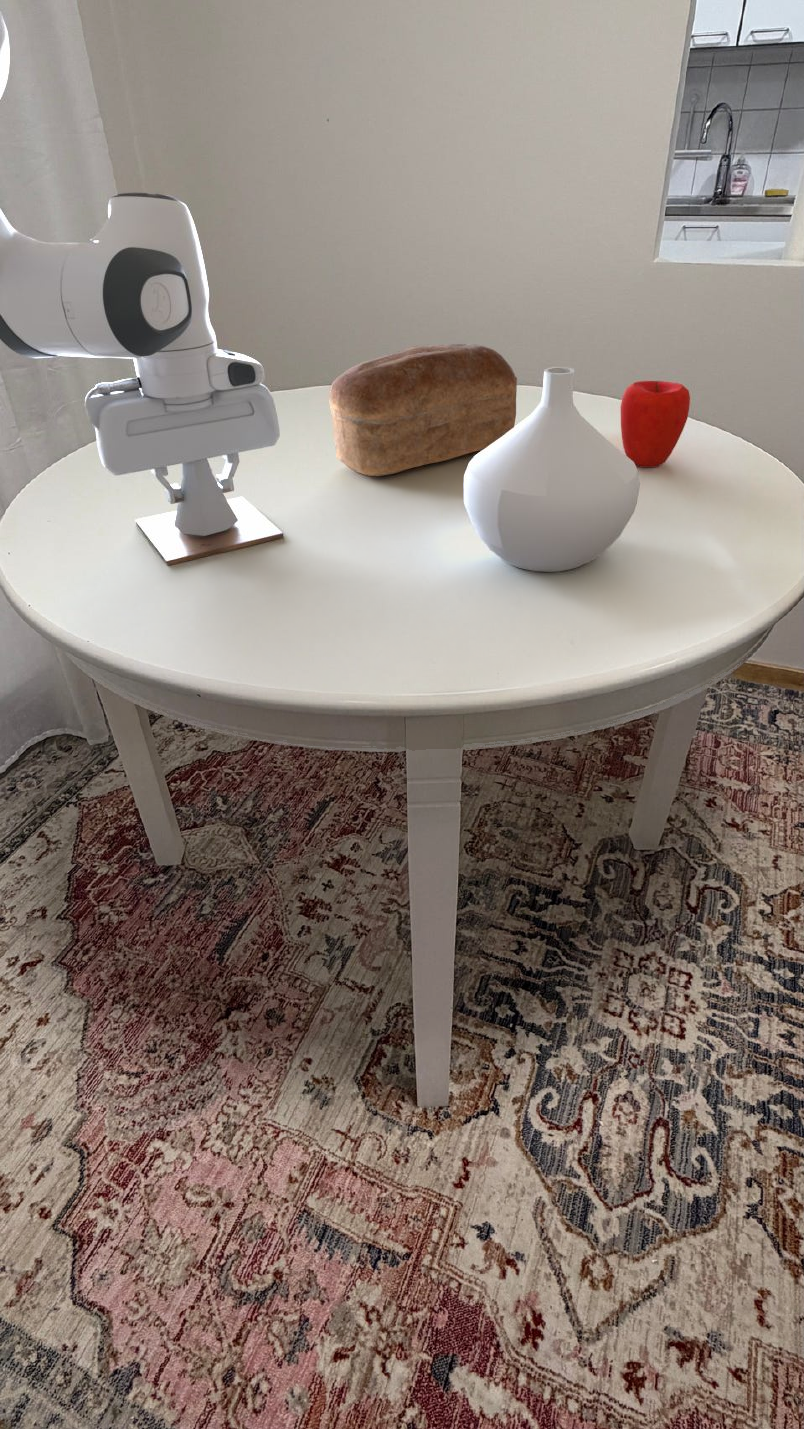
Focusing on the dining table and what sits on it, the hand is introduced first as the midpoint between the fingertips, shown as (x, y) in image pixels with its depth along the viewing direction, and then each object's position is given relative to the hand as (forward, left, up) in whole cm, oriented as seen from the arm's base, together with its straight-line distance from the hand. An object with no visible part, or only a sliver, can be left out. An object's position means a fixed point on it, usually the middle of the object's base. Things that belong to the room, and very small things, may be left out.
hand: (201, 496), depth 94 cm
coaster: (0, 0, -4) cm, 4 cm away
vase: (+30, -27, -4) cm, 41 cm away
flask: (0, 0, -4) cm, 4 cm away
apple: (+60, -11, -4) cm, 61 cm away
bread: (+36, +9, -4) cm, 38 cm away
